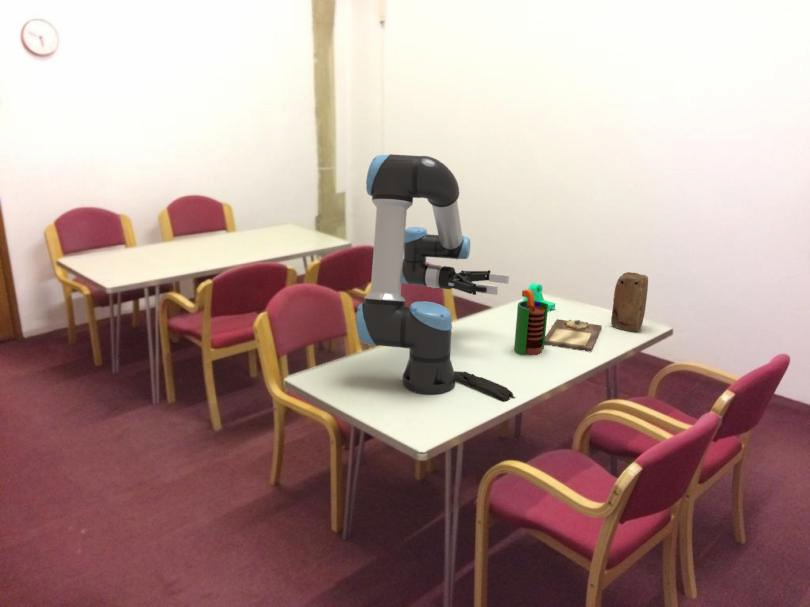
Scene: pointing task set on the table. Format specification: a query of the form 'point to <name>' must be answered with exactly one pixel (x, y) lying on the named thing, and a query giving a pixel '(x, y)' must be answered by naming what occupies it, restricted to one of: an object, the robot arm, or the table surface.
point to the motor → (530, 325)
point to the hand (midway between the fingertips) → (503, 284)
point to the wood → (485, 386)
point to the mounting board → (573, 334)
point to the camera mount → (539, 295)
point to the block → (629, 301)
